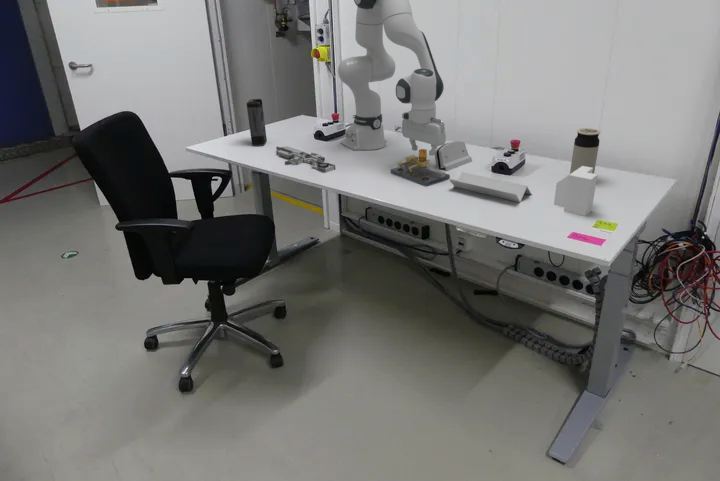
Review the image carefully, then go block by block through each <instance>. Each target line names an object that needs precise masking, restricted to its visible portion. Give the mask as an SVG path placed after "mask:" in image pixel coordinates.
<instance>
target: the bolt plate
mask: <svg viewBox="0 0 720 481" xmlns="http://www.w3.org/2000/svg"><path fill="white" fill-rule="evenodd" d="M417 160H419V155H418V156H417V155H415V154H412V155H409V156H406V157H405V160H403V161H401V162H398V163H397V165H398V167H394V168H391V169H390V170H389V171H390V174H392V175H394V176H397V177H401V178H402V179H405V180H407V181H410V182H414V183H415V184H419V185H420V186H424V187H429V186H432V185H434V184H438V183H441V182H443V181H446V180H449V178H451V175H450V174H449V173H446V171H445V172H444V171H441V170H438V169H437V168H432V167H429V166H425V167H422V168H421V167H419V168H416V169H413V170H412V173H410V169H408V167H410V166H413V165H416V161H417Z"/></svg>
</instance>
